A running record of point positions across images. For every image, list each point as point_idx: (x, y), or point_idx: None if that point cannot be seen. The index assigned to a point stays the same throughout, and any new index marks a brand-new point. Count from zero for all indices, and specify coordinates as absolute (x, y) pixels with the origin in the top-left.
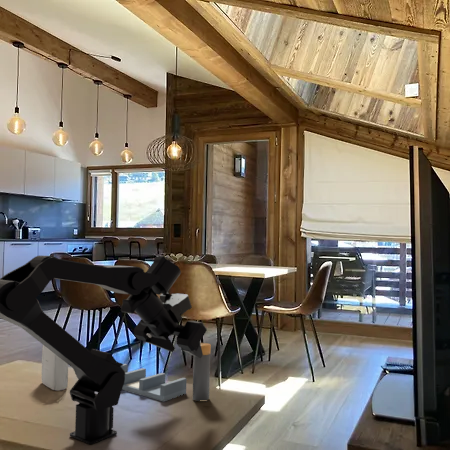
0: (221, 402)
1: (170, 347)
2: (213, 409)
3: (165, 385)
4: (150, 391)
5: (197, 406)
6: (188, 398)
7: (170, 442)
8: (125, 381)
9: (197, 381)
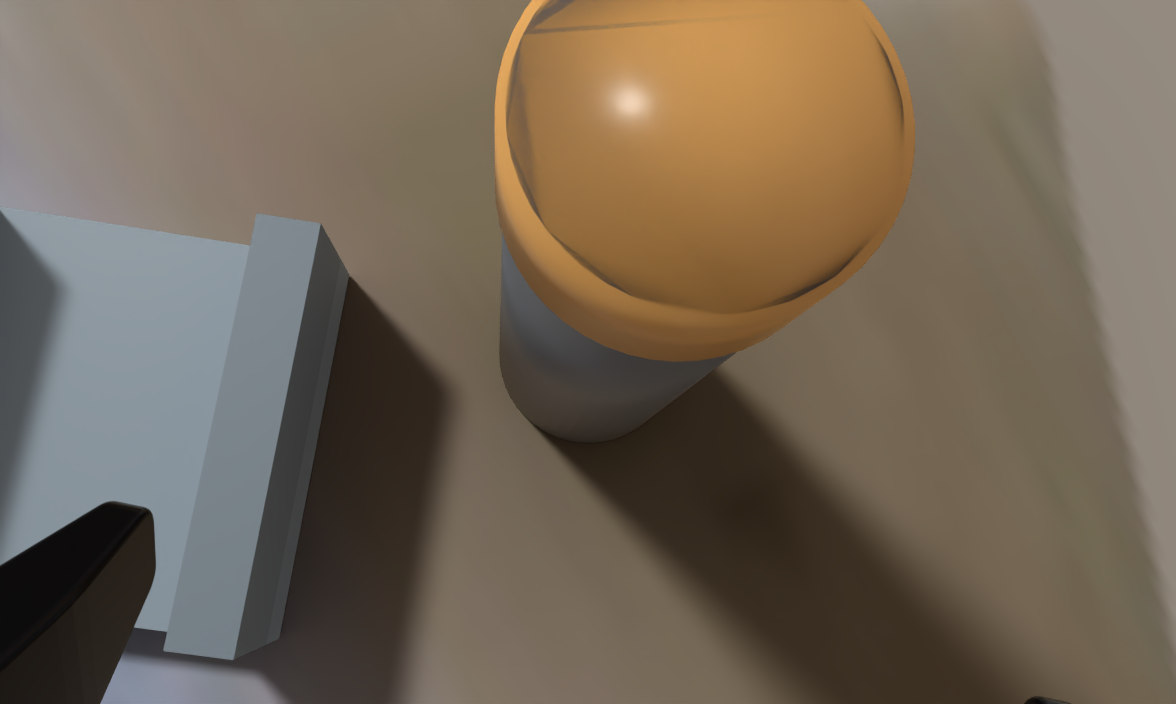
0: (811, 330)
1: (84, 672)
2: (856, 555)
3: (239, 631)
4: None
5: (675, 565)
6: (456, 395)
7: None
8: None
9: (621, 418)
